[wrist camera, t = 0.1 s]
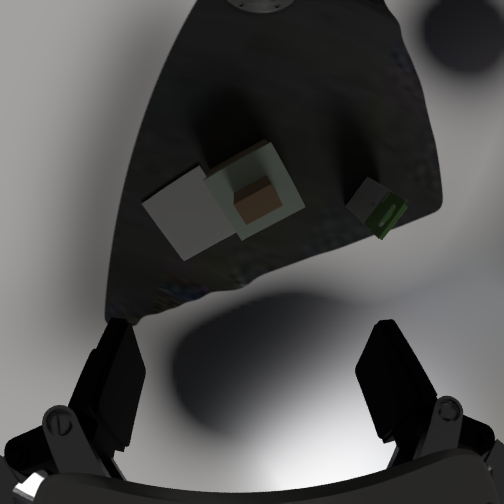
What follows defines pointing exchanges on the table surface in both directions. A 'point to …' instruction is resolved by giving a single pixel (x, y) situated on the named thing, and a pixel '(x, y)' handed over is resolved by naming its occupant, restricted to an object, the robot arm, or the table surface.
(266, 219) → the lid
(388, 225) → the ink box
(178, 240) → the felt mat
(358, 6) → the table surface
